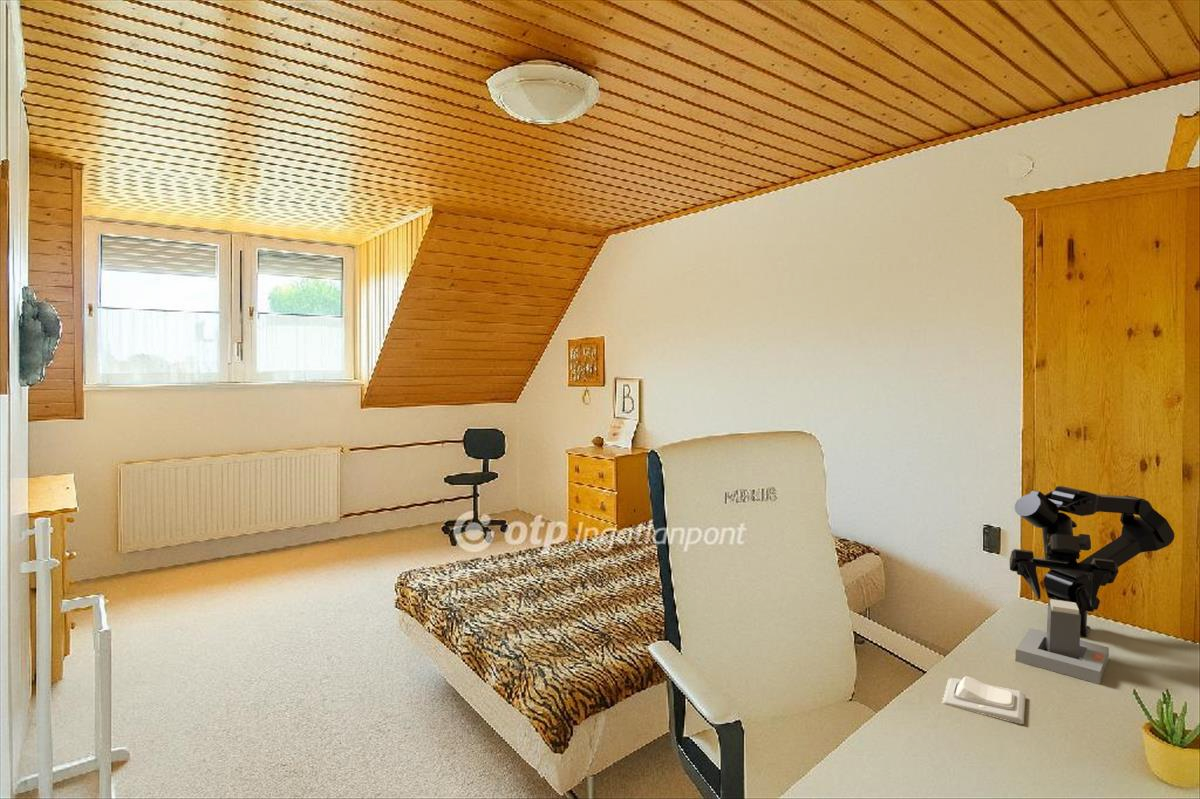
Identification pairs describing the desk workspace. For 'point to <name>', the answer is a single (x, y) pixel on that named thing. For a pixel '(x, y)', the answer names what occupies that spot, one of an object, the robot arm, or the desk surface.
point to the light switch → (985, 699)
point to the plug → (1063, 628)
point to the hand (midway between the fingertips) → (1065, 602)
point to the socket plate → (1063, 657)
